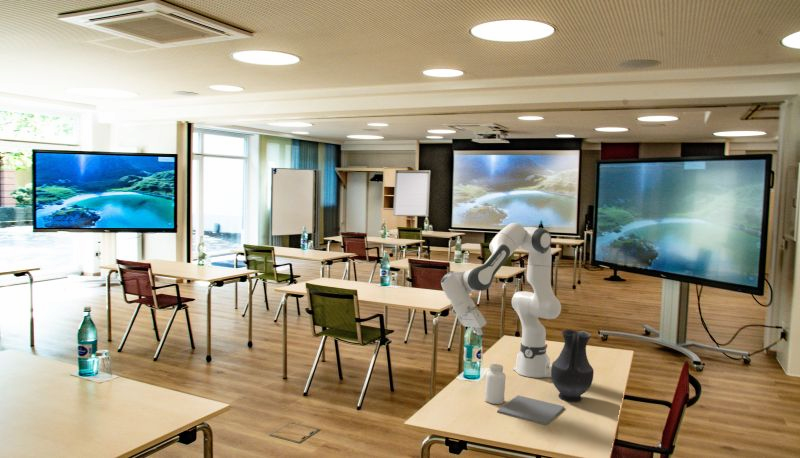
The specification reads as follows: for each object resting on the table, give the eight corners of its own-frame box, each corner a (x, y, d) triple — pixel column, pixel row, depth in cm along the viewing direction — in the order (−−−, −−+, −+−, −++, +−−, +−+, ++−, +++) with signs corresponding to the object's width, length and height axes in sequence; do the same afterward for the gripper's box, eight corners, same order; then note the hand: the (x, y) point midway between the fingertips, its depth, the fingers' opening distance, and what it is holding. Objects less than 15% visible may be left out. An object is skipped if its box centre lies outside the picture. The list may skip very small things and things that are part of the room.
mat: (517, 397, 254) (517, 395, 254) (564, 408, 243) (564, 406, 243) (497, 412, 235) (497, 410, 235) (546, 425, 224) (546, 423, 224)
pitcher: (590, 394, 261) (595, 327, 259) (592, 411, 241) (597, 338, 239) (550, 389, 266) (554, 322, 264) (548, 404, 246) (553, 333, 244)
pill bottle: (503, 405, 243) (505, 369, 242) (483, 403, 244) (485, 367, 243) (504, 399, 251) (506, 364, 250) (485, 396, 252) (487, 362, 251)
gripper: (479, 303, 249) (496, 331, 249) (461, 303, 268) (477, 329, 269) (467, 310, 247) (484, 339, 247) (450, 310, 267) (466, 337, 267)
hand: (480, 334), depth 258 cm, fingers closed
